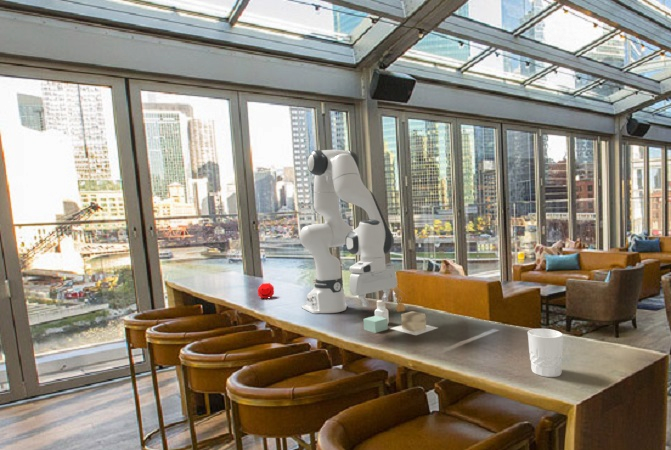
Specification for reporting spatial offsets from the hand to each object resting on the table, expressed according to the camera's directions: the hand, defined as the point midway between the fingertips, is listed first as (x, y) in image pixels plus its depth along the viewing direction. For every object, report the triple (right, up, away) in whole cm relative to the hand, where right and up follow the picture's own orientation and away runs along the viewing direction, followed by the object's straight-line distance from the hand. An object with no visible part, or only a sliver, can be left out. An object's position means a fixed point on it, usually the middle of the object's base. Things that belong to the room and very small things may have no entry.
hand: (375, 304), depth 144 cm
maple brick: (+14, -9, 0) cm, 16 cm away
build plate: (+14, -10, 0) cm, 17 cm away
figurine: (+13, -9, +25) cm, 30 cm away
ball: (-51, -11, +73) cm, 90 cm away
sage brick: (0, -10, +1) cm, 10 cm away
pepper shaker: (+3, -10, +8) cm, 13 cm away
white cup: (+39, -9, -41) cm, 58 cm away
